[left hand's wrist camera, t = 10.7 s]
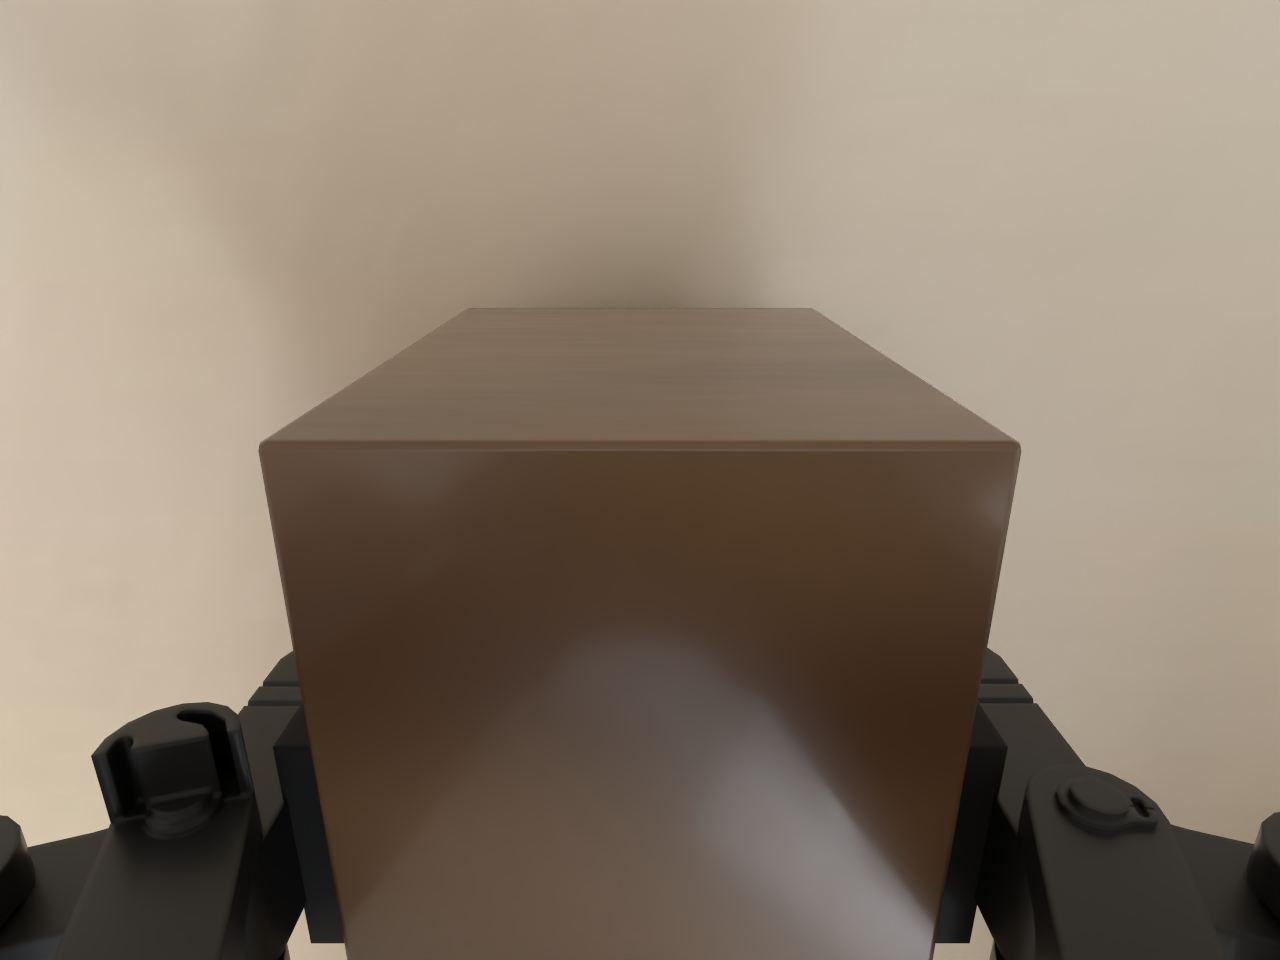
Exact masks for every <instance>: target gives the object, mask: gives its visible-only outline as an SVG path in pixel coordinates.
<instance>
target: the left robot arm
mask: <svg viewBox="0 0 1280 960" xmlns="http://www.w3.org/2000/svg"><path fill="white" fill-rule="evenodd" d="M91 757H92V760H93V764H94V767H95V771H96V774H97V777H98V781H99V784H100V788H101V791H102V794H103V798H104V801H105V804H106V808H107V811H108V815H109V818H110V821H111V824H110V826H109V828H108V829H104V830H101V831H97V832H94V833H90V834H85V835H81V836H76V837H72V838H67V839H63V840H59V841H54V842H50V843H45V844H41V845H36V846H32V847H27V845H26V842H25V839H24V836H23V833H22V830H21V827H20V825H18V824H17V823H16V822H14V821H13V820H12V819H11V818H9V817H8V816H1V815H0V960H290V956H289V951H288V946H287V942H288V940H289V938H290V936H291V934H292V932H293V929H294V927H295V925H296V923H297V921H298V919H299V917H300V915H301V912H302V910H303V908H304V909H305V914H306V919H307V924H308V930H309V935H310V940H311V943H345V942H344V937H343V931H342V925H341V919H340V914H339V908H338V902H337V896H336V891H335V885H334V879H333V874H332V868H331V862H330V856H329V851H328V845H327V839H326V834H325V828H324V822H323V816H322V811H321V805H320V799H319V793H318V788H317V782H316V776H315V771H314V765H313V759H312V753H311V748H310V742H309V736H308V731H307V725H306V719H305V713H304V708H303V702H302V696H301V690H300V685H299V679H298V673H297V668H296V662H295V656H294V651H292V652H291V653H289V654H288V655H286V656H285V657H283V658H282V659H281V660H280V661H279V662H278V663H277V665H276V666H275V667H274V669H273V670H272V671H271V672H270V674H269V675H268V676H267V678H266V679H265V680H264V682H263V687H259V688H258V689H257V691H256V692H255V693H254V694H253V696H252V697H251V698H250V700H249V701H248V706H244V707H243V709H242V710H241V711H240V713H239V714H238V715H237V714H236V713H235V712H234V711H232V710H231V709H230V708H229V707H228V706H224V705H219V704H214V703H209V702H202V703H187V704H180V705H176V706H172V707H168V708H164V709H160V710H156V711H153V712H151V713H149V714H147V715H144V716H142V717H140V718H138V719H136V720H133V721H131V722H129V723H127V724H126V725H124V726H123V727H121V728H120V729H118V730H117V731H116V732H114V733H113V734H111V735H110V736H108V737H107V738H106V739H105V740H104V741H103V742H102V743H101V745H100V746H99V747H98V748H97V749H96V751H95V752H94V753H93V754H92V756H91ZM977 905H978V907H979V909H980V911H981V913H982V916H983V918H984V920H985V922H986V924H987V926H988V928H989V930H990V932H991V935H992V937H993V939H994V941H993V946H992V951H991V956H990V960H1280V812H1279V813H1274V814H1272V815H1271V816H1270V817H1269V818H1267V819H1266V820H1265V821H1263V822H1262V824H1261V827H1260V830H1259V833H1258V835H1257V838H1256V841H1255V844H1250V843H1246V842H1241V841H1237V840H1232V839H1228V838H1224V837H1219V836H1215V835H1210V834H1206V833H1201V832H1197V831H1192V830H1188V829H1185V828H1181V827H1178V826H1174V825H1171V824H1170V822H1169V821H1168V819H1167V818H1166V817H1165V815H1164V814H1163V812H1162V811H1161V809H1160V808H1159V807H1158V805H1157V804H1156V803H1155V802H1154V801H1153V800H1151V799H1150V798H1149V797H1148V796H1146V795H1145V794H1144V793H1143V792H1141V791H1140V790H1139V789H1138V788H1136V787H1135V786H1133V785H1131V784H1129V783H1127V782H1125V781H1123V780H1122V779H1120V778H1118V777H1116V776H1114V775H1112V774H1110V773H1107V772H1103V771H1100V770H1096V769H1093V768H1089V767H1086V766H1085V765H1084V763H1083V762H1082V761H1081V760H1080V758H1079V757H1078V756H1077V754H1076V753H1075V752H1074V751H1073V749H1072V748H1071V747H1070V745H1069V744H1068V743H1067V742H1066V740H1065V739H1064V738H1063V736H1062V735H1061V734H1060V733H1059V731H1058V730H1057V729H1056V727H1055V726H1054V725H1053V724H1052V722H1051V721H1050V720H1049V718H1048V717H1047V716H1046V715H1045V713H1044V712H1043V711H1042V709H1041V708H1040V707H1039V706H1038V704H1037V703H1033V698H1032V697H1031V695H1030V694H1029V693H1028V691H1027V690H1026V689H1025V688H1024V686H1023V685H1022V684H1019V683H1018V679H1017V677H1016V676H1015V675H1014V673H1013V672H1012V671H1011V670H1010V668H1009V667H1008V666H1007V664H1006V663H1005V662H1004V661H1003V659H1002V658H1001V657H1000V656H999V655H997V654H996V653H994V652H993V651H991V650H990V649H988V648H987V650H986V655H985V661H984V667H983V673H982V678H981V684H980V690H979V695H978V701H977V707H976V713H975V718H974V724H973V730H972V736H971V741H970V747H969V753H968V758H967V764H966V770H965V776H964V781H963V787H962V793H961V799H960V804H959V810H958V816H957V821H956V827H955V833H954V839H953V844H952V850H951V856H950V862H949V867H948V873H947V879H946V884H945V890H944V896H943V902H942V907H941V913H940V919H939V924H938V930H937V936H936V942H935V943H970V938H971V933H972V928H973V923H974V918H975V912H976V907H977Z"/></svg>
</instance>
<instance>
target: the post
mask: <svg viewBox="0 0 1280 960" xmlns="http://www.w3.org/2000/svg"><path fill="white" fill-rule="evenodd" d="M1020 455H1021V447H1020V444H1019V442H1018V441H1016V440H1014V439H1013V438H1011V437H1010V436H1008V435H1007V434H1005V433H1004V432H1002V431H1001V430H999V429H997V428H996V427H994V426H993V425H991V424H990V423H988V422H987V421H985V420H984V419H982V418H981V417H979V416H977V415H976V414H974V413H973V412H971V411H970V410H968V409H967V408H965V407H964V406H962V405H960V404H959V403H957V402H956V401H954V400H953V399H951V398H950V397H948V396H947V395H945V394H944V393H942V392H940V391H939V390H937V389H936V388H934V387H933V386H931V385H930V384H928V383H927V382H925V381H923V380H922V379H920V378H919V377H917V376H916V375H914V374H913V373H911V372H910V371H908V370H907V369H905V368H903V367H902V366H900V365H899V364H897V363H896V362H894V361H893V360H891V359H890V358H888V357H886V356H885V355H883V354H882V353H880V352H879V351H877V350H876V349H874V348H873V347H871V346H870V345H868V344H866V343H865V342H863V341H862V340H860V339H859V338H857V337H856V336H854V335H853V334H851V333H849V332H848V331H846V330H845V329H843V328H842V327H840V326H839V325H837V324H836V323H834V322H833V321H831V320H829V319H828V318H826V317H825V316H823V315H822V314H820V313H819V312H817V311H816V310H814V309H812V308H469V309H467V310H465V311H464V312H462V313H461V314H459V315H458V316H456V317H454V318H453V319H451V320H450V321H448V322H447V323H445V324H444V325H442V326H440V327H439V328H437V329H436V330H434V331H433V332H431V333H430V334H428V335H426V336H425V337H423V338H422V339H420V340H419V341H417V342H416V343H414V344H413V345H411V346H409V347H408V348H406V349H405V350H403V351H402V352H400V353H399V354H397V355H395V356H394V357H392V358H391V359H389V360H388V361H386V362H385V363H383V364H381V365H380V366H378V367H377V368H375V369H374V370H372V371H371V372H369V373H367V374H366V375H364V376H363V377H361V378H360V379H358V380H357V381H355V382H354V383H352V384H350V385H349V386H347V387H346V388H344V389H343V390H341V391H340V392H338V393H336V394H335V395H333V396H332V397H330V398H329V399H327V400H326V401H324V402H322V403H321V404H319V405H318V406H316V407H315V408H313V409H312V410H310V411H308V412H307V413H305V414H304V415H302V416H301V417H299V418H298V419H296V420H295V421H293V422H291V423H290V424H288V425H287V426H285V427H284V428H282V429H281V430H279V431H277V432H276V433H274V434H273V435H271V436H270V437H268V438H267V439H265V440H263V441H262V442H261V443H260V446H259V456H260V462H261V467H262V473H263V479H264V484H265V490H266V496H267V502H268V507H269V513H270V519H271V525H272V530H273V536H274V542H275V547H276V553H277V559H278V565H279V570H280V576H281V582H282V587H283V593H284V599H285V605H286V610H287V616H288V622H289V628H290V633H291V639H292V645H293V650H294V656H295V662H296V668H297V673H298V679H299V685H300V690H301V696H302V702H303V708H304V713H305V719H306V725H307V731H308V736H309V742H310V748H311V753H312V759H313V765H314V771H315V776H316V782H317V788H318V793H319V799H320V805H321V811H322V816H323V822H324V828H325V834H326V839H327V845H328V851H329V856H330V862H331V868H332V874H333V879H334V885H335V891H336V896H337V902H338V908H339V914H340V919H341V925H342V931H343V937H344V942H345V948H346V954H347V959H348V960H932V959H933V953H934V947H935V942H936V936H937V930H938V924H939V919H940V913H941V907H942V902H943V896H944V890H945V884H946V879H947V873H948V867H949V862H950V856H951V850H952V844H953V839H954V833H955V827H956V821H957V816H958V810H959V804H960V799H961V793H962V787H963V781H964V776H965V770H966V764H967V758H968V753H969V747H970V741H971V736H972V730H973V724H974V718H975V713H976V707H977V701H978V695H979V690H980V684H981V678H982V673H983V667H984V661H985V655H986V650H987V644H988V638H989V632H990V627H991V621H992V615H993V610H994V604H995V598H996V592H997V587H998V581H999V575H1000V569H1001V564H1002V558H1003V552H1004V547H1005V541H1006V535H1007V529H1008V524H1009V518H1010V512H1011V506H1012V501H1013V495H1014V489H1015V484H1016V478H1017V472H1018V466H1019V461H1020Z"/></svg>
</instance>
